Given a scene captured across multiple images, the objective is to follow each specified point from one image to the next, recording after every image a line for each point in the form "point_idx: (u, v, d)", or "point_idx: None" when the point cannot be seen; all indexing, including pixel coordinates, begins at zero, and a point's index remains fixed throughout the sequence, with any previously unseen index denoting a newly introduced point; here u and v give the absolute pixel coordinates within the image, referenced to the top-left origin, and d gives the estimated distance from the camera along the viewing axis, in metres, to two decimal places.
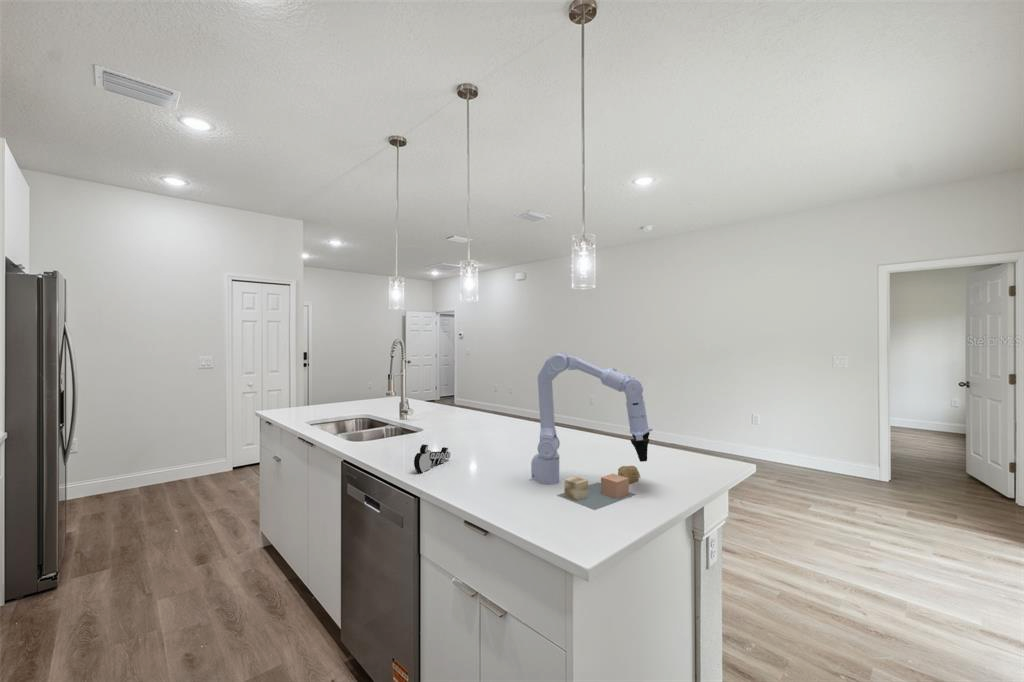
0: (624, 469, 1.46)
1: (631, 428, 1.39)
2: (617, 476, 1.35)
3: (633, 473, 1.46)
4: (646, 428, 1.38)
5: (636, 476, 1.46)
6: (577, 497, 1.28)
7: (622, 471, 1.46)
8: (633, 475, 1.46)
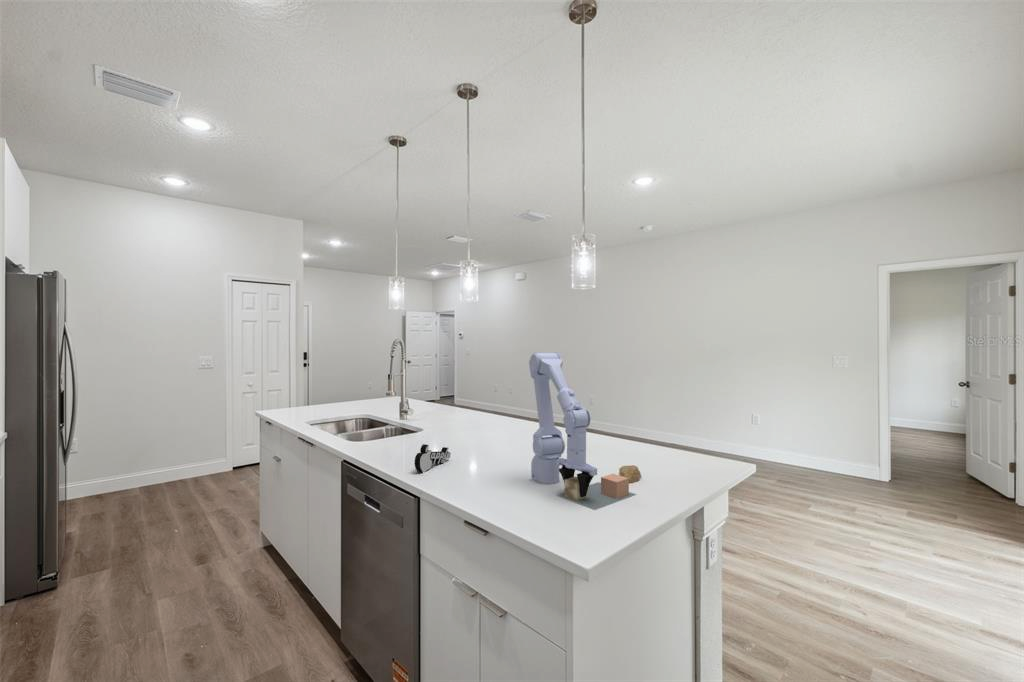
0: (625, 469, 1.47)
1: None
2: (617, 476, 1.35)
3: (634, 473, 1.47)
4: (567, 462, 1.31)
5: (637, 476, 1.47)
6: (577, 497, 1.28)
7: (623, 471, 1.46)
8: (634, 475, 1.46)
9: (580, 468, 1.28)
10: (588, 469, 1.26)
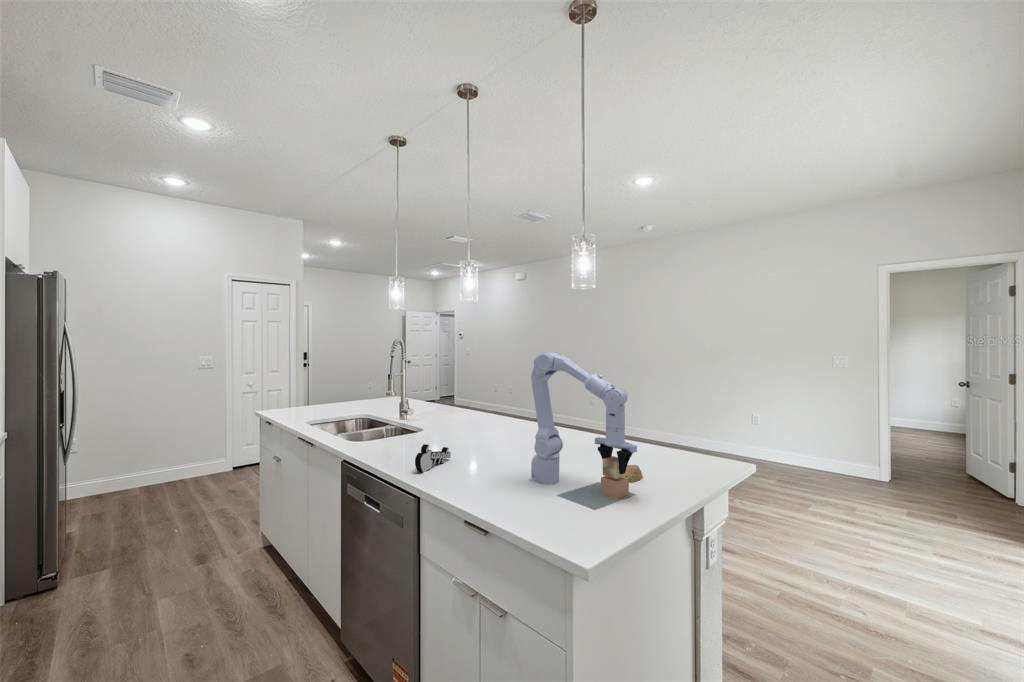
0: (626, 468, 1.48)
1: None
2: None
3: (635, 472, 1.47)
4: (606, 440, 1.34)
5: (638, 475, 1.48)
6: (616, 475, 1.31)
7: None
8: (635, 474, 1.47)
9: (620, 445, 1.30)
10: (628, 446, 1.29)
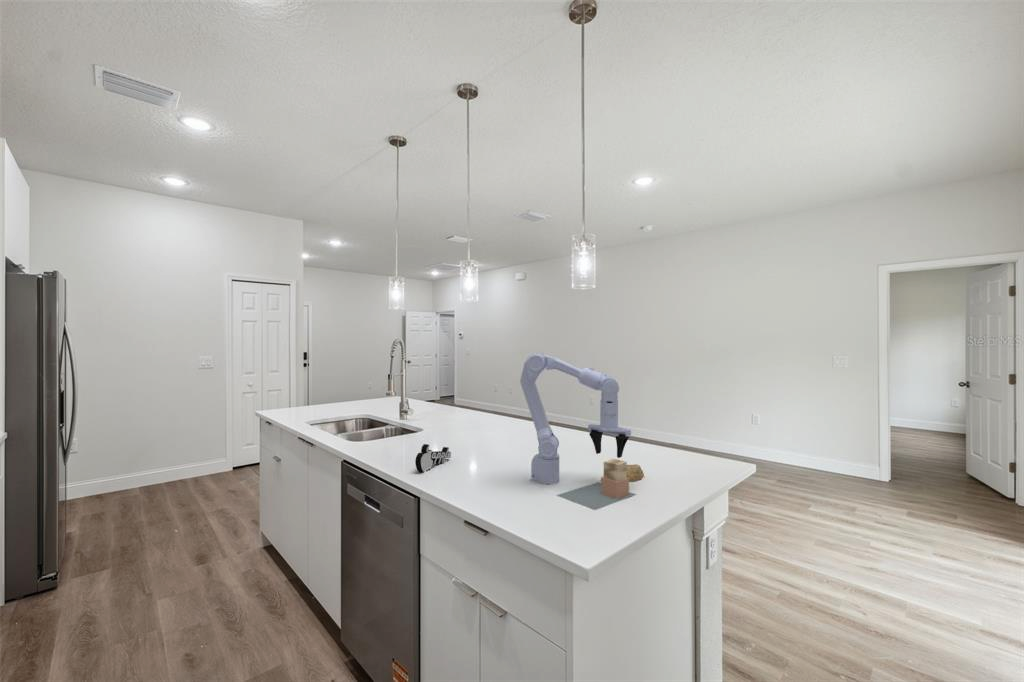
0: (628, 468, 1.48)
1: None
2: None
3: (637, 472, 1.48)
4: (601, 426, 1.42)
5: (640, 475, 1.48)
6: (618, 478, 1.31)
7: None
8: (637, 474, 1.48)
9: (615, 430, 1.40)
10: (623, 431, 1.39)
